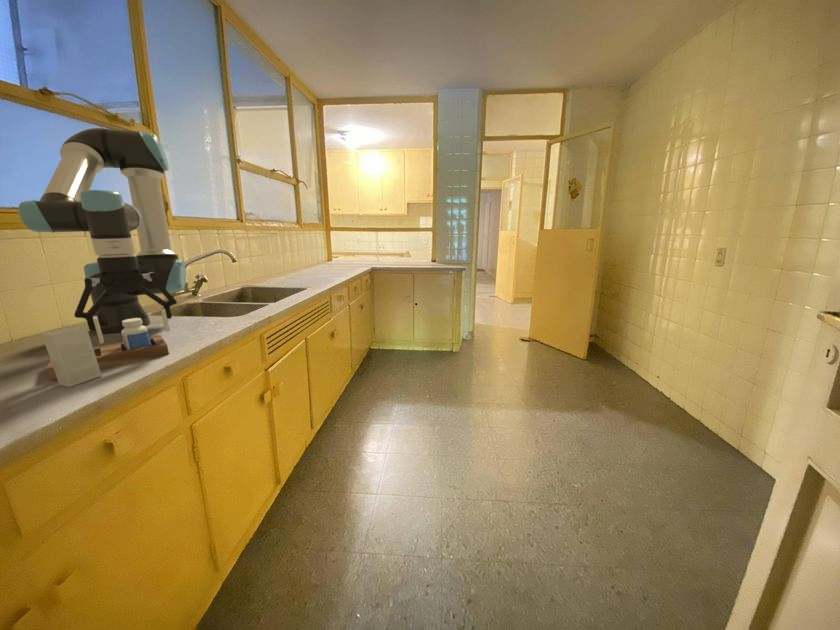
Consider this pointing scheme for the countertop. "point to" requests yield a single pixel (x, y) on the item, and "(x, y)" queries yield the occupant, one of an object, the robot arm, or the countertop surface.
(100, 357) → the socket block
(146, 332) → the pill bottle
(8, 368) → the countertop surface
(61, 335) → the skincare box
